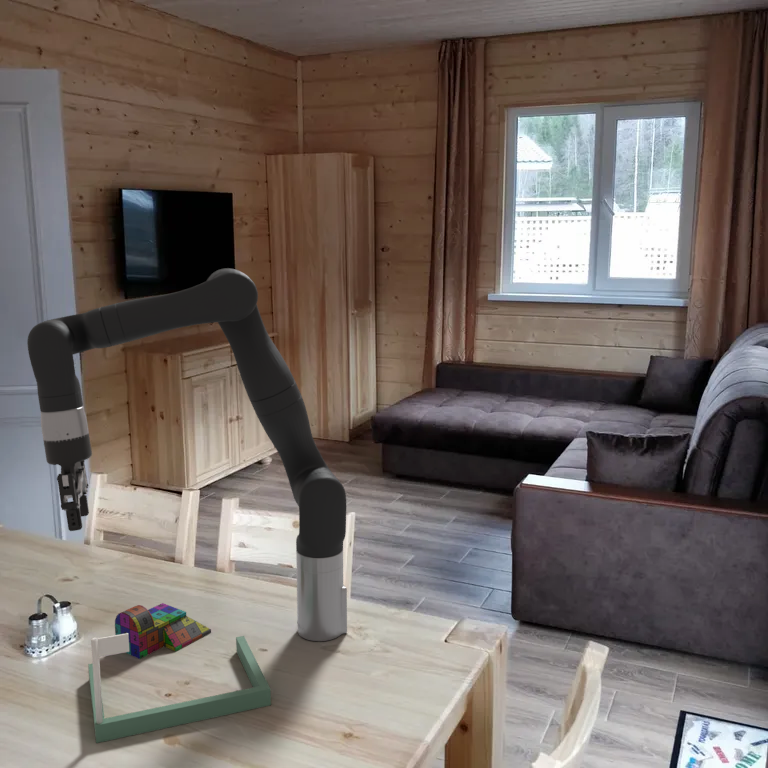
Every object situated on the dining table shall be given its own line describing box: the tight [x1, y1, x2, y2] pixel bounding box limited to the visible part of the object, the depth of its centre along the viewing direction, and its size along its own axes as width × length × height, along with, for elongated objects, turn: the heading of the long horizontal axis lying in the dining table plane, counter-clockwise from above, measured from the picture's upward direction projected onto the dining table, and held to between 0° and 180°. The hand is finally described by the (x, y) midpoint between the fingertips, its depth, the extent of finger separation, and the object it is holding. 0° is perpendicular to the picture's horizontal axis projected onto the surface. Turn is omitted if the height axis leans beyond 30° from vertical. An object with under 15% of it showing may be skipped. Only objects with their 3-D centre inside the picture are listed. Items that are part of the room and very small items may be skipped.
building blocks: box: [114, 602, 212, 660], centre depth 160 cm, size 15×10×8 cm
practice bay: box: [88, 633, 272, 744], centre depth 141 cm, size 28×20×17 cm
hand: (79, 522), depth 146 cm, fingers open, 8 cm apart
